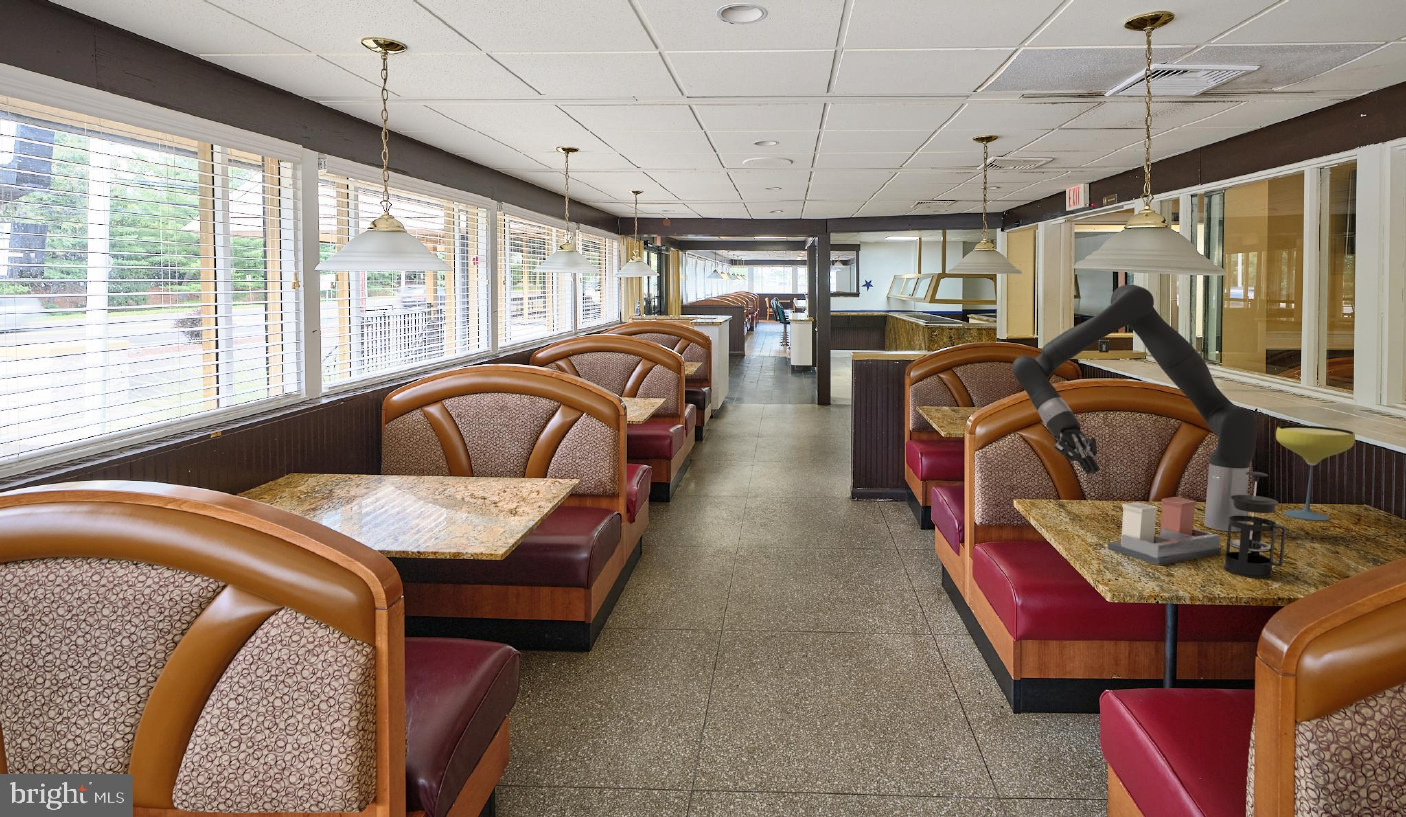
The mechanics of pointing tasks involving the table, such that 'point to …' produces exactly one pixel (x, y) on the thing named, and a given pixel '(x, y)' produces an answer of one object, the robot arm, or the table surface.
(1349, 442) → the cocktail glass
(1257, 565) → the french press
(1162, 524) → the pink boxy piece
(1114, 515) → the table surface
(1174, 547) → the dark grey tray
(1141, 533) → the white tall block
